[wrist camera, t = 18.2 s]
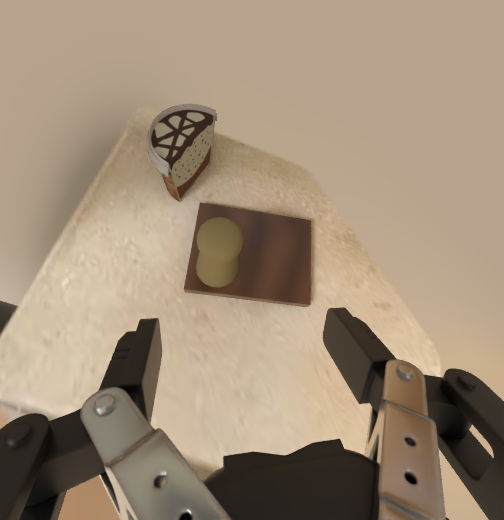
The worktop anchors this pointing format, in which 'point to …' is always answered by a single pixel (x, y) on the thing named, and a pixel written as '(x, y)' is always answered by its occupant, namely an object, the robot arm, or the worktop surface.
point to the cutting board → (261, 258)
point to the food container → (182, 145)
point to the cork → (218, 251)
